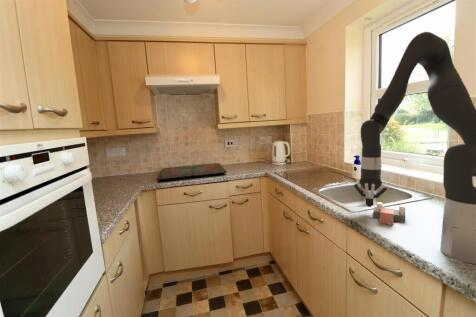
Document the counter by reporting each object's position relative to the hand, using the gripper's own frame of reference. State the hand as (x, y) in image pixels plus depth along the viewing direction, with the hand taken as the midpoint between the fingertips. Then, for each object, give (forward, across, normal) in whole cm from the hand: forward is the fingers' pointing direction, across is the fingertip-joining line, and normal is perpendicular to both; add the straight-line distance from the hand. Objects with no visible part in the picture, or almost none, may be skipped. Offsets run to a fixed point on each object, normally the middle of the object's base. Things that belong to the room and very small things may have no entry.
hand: (369, 206), depth 102 cm
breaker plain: (+1, +12, 0) cm, 12 cm away
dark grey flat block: (+3, +7, 0) cm, 8 cm away
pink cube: (+3, +7, -6) cm, 10 cm away
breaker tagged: (+1, +4, 0) cm, 4 cm away
